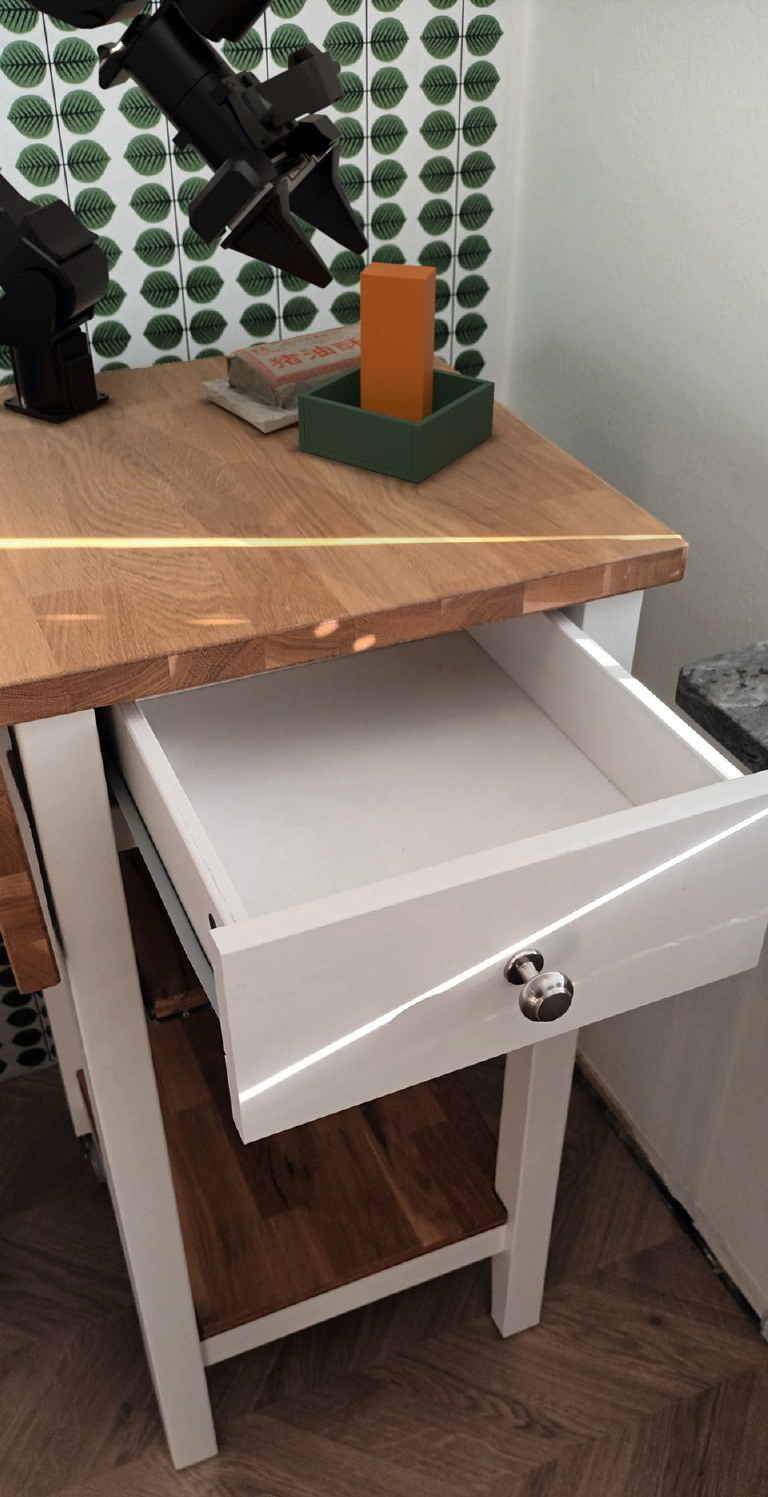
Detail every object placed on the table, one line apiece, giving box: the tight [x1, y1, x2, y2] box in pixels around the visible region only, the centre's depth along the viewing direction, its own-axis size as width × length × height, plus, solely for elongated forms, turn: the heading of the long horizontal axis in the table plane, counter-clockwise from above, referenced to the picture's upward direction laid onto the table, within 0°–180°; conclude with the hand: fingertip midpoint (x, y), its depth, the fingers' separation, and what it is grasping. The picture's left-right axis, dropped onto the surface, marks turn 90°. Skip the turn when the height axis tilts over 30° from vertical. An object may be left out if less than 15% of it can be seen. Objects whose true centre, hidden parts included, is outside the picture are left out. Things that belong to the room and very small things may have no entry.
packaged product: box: [202, 322, 361, 434], centre depth 107 cm, size 18×5×10 cm
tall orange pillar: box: [359, 261, 437, 423], centre depth 96 cm, size 5×3×13 cm, turn 74°
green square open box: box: [297, 364, 496, 484], centre depth 99 cm, size 11×11×4 cm
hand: (347, 267), depth 93 cm, fingers open, 9 cm apart
